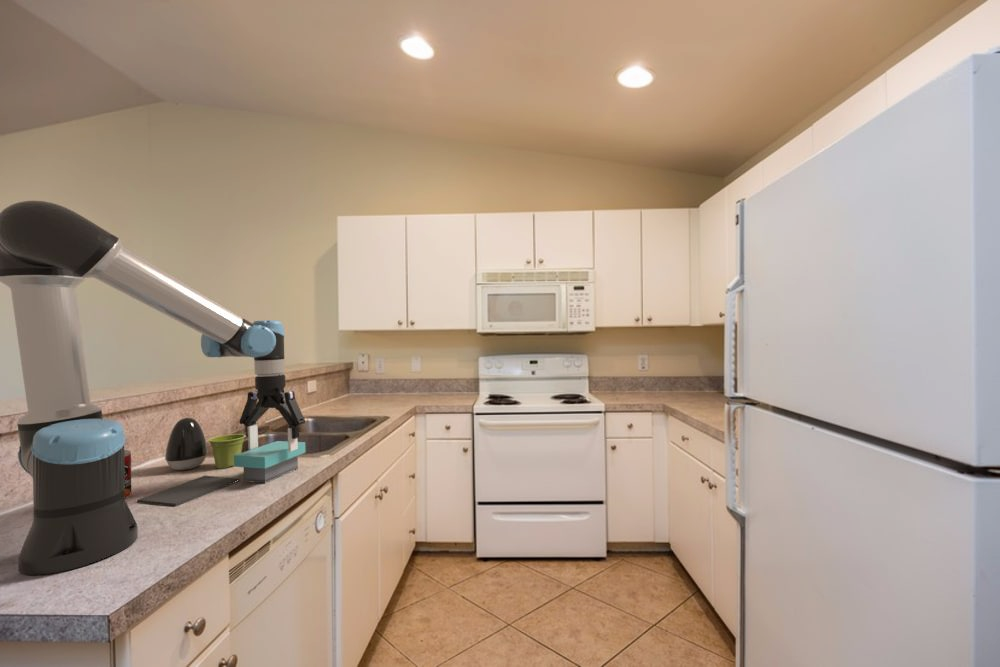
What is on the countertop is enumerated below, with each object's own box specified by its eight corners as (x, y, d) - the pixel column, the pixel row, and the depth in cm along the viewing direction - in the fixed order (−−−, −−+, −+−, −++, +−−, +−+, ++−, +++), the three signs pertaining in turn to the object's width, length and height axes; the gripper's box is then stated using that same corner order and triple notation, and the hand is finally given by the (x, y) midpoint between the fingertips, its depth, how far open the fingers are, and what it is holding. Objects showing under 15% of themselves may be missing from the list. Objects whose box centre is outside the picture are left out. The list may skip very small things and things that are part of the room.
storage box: (297, 468, 119) (297, 448, 119) (265, 483, 108) (264, 460, 108) (278, 467, 121) (277, 447, 121) (243, 481, 109) (243, 459, 109)
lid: (305, 452, 120) (305, 442, 120) (265, 468, 106) (264, 457, 106) (277, 450, 123) (277, 441, 123) (234, 466, 108) (233, 455, 108)
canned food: (105, 506, 95) (104, 459, 95) (79, 504, 96) (78, 458, 97) (140, 493, 102) (139, 450, 102) (115, 491, 104) (114, 449, 104)
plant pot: (220, 461, 128) (219, 434, 128) (251, 460, 129) (251, 433, 129) (202, 471, 119) (201, 442, 119) (236, 469, 120) (235, 440, 120)
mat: (176, 506, 94) (176, 503, 94) (137, 502, 97) (137, 499, 97) (239, 480, 110) (239, 478, 110) (204, 477, 113) (204, 475, 113)
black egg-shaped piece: (206, 460, 130) (205, 413, 130) (209, 467, 122) (208, 417, 122) (165, 467, 124) (164, 417, 124) (165, 475, 116) (164, 422, 116)
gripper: (316, 372, 115) (319, 446, 115) (245, 373, 121) (248, 443, 121) (297, 376, 108) (300, 455, 108) (222, 376, 114) (225, 451, 114)
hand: (273, 449), depth 115 cm, fingers open, 13 cm apart
